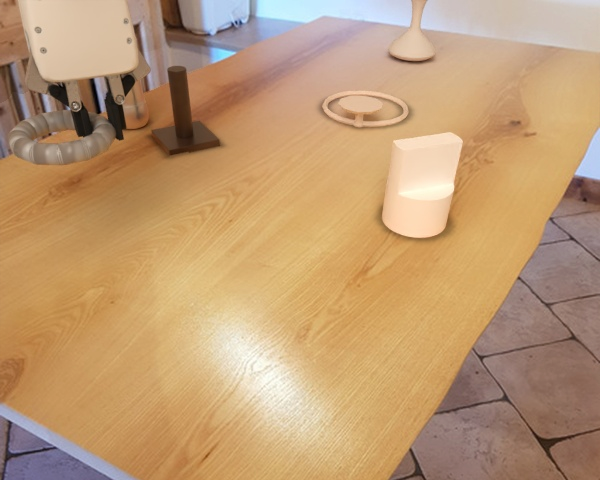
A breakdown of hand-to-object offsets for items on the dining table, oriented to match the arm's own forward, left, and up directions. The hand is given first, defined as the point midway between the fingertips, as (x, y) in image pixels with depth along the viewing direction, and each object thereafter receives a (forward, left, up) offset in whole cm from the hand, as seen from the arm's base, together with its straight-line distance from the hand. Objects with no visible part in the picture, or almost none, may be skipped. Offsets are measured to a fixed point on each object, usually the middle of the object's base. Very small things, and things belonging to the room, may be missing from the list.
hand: (102, 137), depth 62 cm
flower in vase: (+84, +45, -15) cm, 96 cm away
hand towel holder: (+53, +22, -15) cm, 59 cm away
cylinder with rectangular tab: (+37, -13, -15) cm, 42 cm away
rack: (+18, +26, -15) cm, 35 cm away
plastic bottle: (+12, +37, -15) cm, 41 cm away
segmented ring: (-4, 0, +1) cm, 4 cm away
